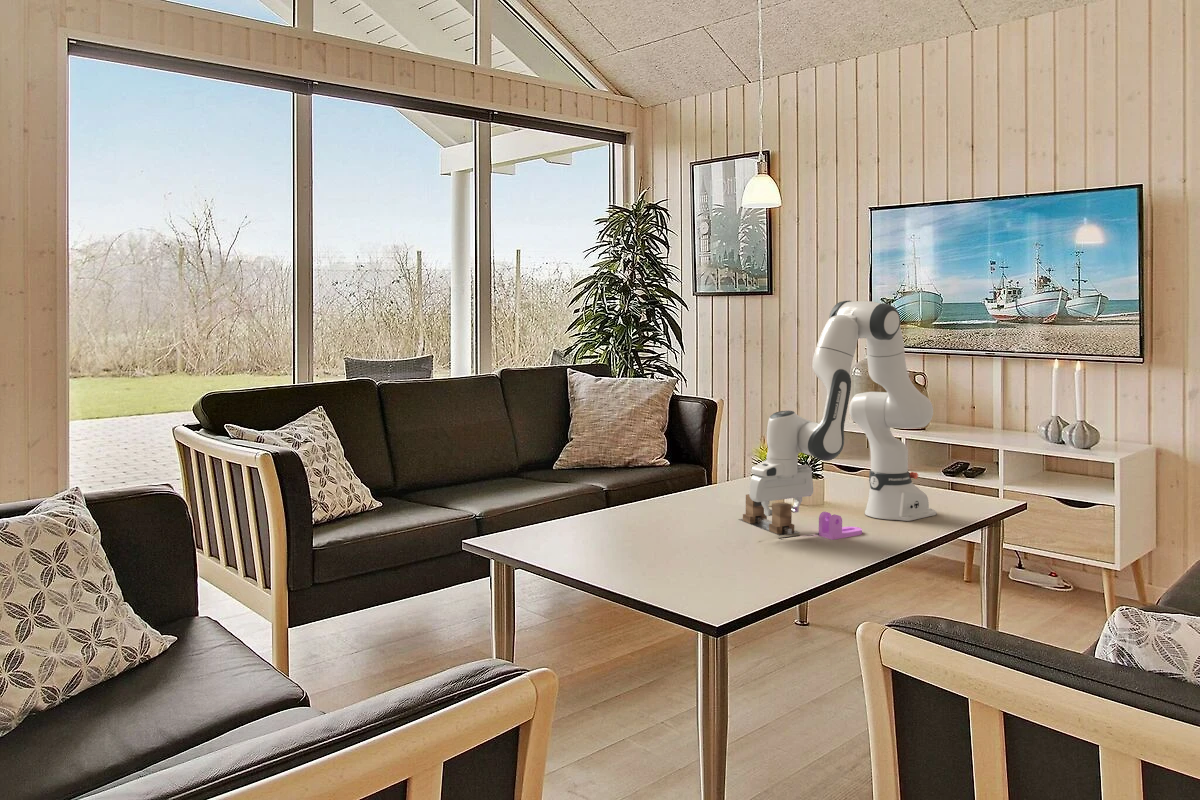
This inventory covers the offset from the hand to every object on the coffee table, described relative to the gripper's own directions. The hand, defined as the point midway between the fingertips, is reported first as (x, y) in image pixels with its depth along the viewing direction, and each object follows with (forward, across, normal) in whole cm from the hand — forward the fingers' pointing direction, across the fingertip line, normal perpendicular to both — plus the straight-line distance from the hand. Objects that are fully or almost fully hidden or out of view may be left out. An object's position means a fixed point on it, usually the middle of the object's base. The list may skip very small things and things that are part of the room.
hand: (781, 513), depth 259 cm
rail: (+6, 0, -7) cm, 9 cm away
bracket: (+6, -16, +8) cm, 19 cm away
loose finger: (+5, 0, 0) cm, 5 cm away
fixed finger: (+5, 0, -14) cm, 15 cm away
